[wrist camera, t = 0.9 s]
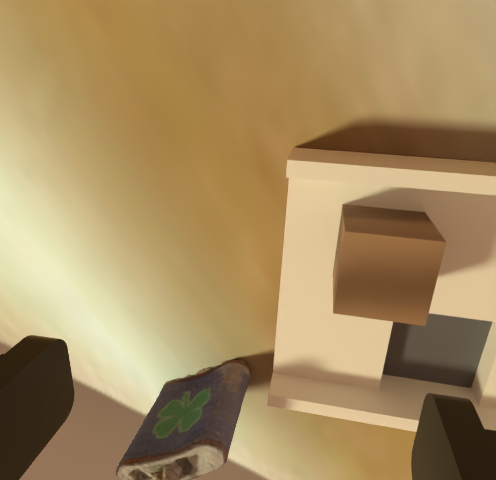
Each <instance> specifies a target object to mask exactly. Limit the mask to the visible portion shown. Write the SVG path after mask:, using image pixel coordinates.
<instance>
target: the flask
mask: <svg viewBox="0 0 496 480" xmlns="http://www.w3.org/2000/svg"><path fill="white" fill-rule="evenodd" d="M249 380H250V369H249V367H248V365H246V363H245V362H244V361H243V360H230V361H224V362H222V364H221V365H219V366H216V367H212V368H210V367H209V368H207V369H204V368H203V370H200V371H199V372H198V373H197V374H196V375H195V376H190V375H188V376H187V377H186V378H184V379H178V378H177V379H176V380H174V381H168V382H166V383H165V384H164V386H163V388H162V390H161V392H160V394H159V396H158V398H157V400H156V402H155V403H154V405H153V406H152V408H151V410H150V411H149V413H148V414H147V416H146V418H145V420H144V422H143V424H142V426H141V428H140V429H139V431H138V433H137V434H136V436H135V438H134V440H133V441H132V443H131V445H130V446H129V448H128V450H127V452H126V453H125V454H124V457H123V458H122V460H121V461H120V463H119V466H118V467H117V471H116V475H117V477H118V478H119V479H120V480H190V479H193V478H197V477H199V476H201V475H204V474H206V473H209V472H212V471H214V470H216V469H217V468H220V467H221V466H223V465H224V464H225V463H226V461H227V457H228V453H229V449H230V445H231V441H232V438H233V434H234V431H235V427H236V423H237V420H238V417H239V414H240V410H241V405H242V402H243V398H244V395H245V392H246V389H247V385H248V382H249Z"/></svg>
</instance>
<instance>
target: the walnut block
mask: <svg viewBox="0 0 496 480" xmlns="http://www.w3.org/2000/svg"><path fill="white" fill-rule="evenodd" d="M445 246H446V241H445V239H444V238H443V237H442V235H441V234H440V232H439V231H438V230H437V228H436V227H435V225H434V224H433V223H432V221H431V220H430V218H429V217H428V215H427V214H426V213H425V212H419V211H408V210H398V209H387V208H377V207H366V206H356V205H345V204H342V211H341V218H340V225H339V233H338V240H337V247H336V254H335V261H334V269H333V313H334V314H341V315H348V316H356V317H363V318H370V319H377V320H385V321H392V322H399V323H407V324H414V325H421V326H426V322H427V318H428V314H429V310H430V306H431V302H432V298H433V294H434V290H435V286H436V282H437V278H438V274H439V270H440V266H441V262H442V258H443V254H444V250H445Z"/></svg>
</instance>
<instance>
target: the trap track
mask: <svg viewBox="0 0 496 480" xmlns="http://www.w3.org/2000/svg"><path fill="white" fill-rule="evenodd" d="M286 177H289V186H288V198H287V210H286V222H285V234H284V246H283V258H282V270H281V282H280V294H279V305H278V317H277V329H276V341H275V353H274V365H273V374H272V379H271V384H270V389H269V394H268V406H273V407H279V408H284V409H290V410H296V411H301V412H307V413H313V414H318V415H324V416H330V417H335V418H341V419H346V420H352V421H358V422H363V423H369V424H375V425H380V426H386V427H392V428H397V429H403V430H409V431H414V432H417V428H418V423H419V419H420V415H421V410H422V406H423V402H424V399H425V396H426V395H427V394H428V393H433V394H440V395H447V396H454V397H461V398H467V399H469V400H470V401H471V402H472V403H473V405H474V407H475V409H476V412H477V414H478V416H479V418H480V420H481V422H482V425H483V427H484V429H488V430H495V431H496V163H495V162H482V161H469V160H455V159H442V158H429V157H415V156H402V155H389V154H375V153H362V152H349V151H335V150H322V149H309V148H295V147H294V148H293V150H292V152H291V154H290V156H289V158H288V160H287V171H286ZM342 204H345V205H356V206H366V207H377V208H387V209H398V210H408V211H419V212H425V213H426V214H427V215H428V217H429V218H430V220H431V221H432V223H433V224H434V225H435V227H436V228H437V230H438V231H439V232H440V234H441V235H442V237H443V238H444V239H445V241H446V246H445V250H444V254H443V258H442V262H441V266H440V270H439V274H438V278H437V282H436V286H435V290H434V294H433V298H432V302H431V306H430V310H429V314H428V318H427V322H426V326H421V325H414V324H407V323H399V322H392V321H385V320H377V319H370V318H363V317H356V316H348V315H341V314H334V313H333V269H334V261H335V254H336V247H337V240H338V233H339V225H340V218H341V211H342Z"/></svg>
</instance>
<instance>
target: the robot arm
mask: <svg viewBox="0 0 496 480" xmlns="http://www.w3.org/2000/svg"><path fill="white" fill-rule="evenodd" d="M73 401H74V387H73V380H72V374H71V367H70V361H69V354H68V348H67V345H66V343H65V341H63V340H61V339H56V338H48V337H41V336H34V335H30V336H27V337H25V338H24V339H22V340H21V341H20V342H19V343H18V344H16V345H15V346H14V347H13V348H11V349H10V350H9V351H8V352H7V353H5V354H2V355H0V480H19V479H20V478H21V476H22V475H23V474H24V473H25V471H26V470H27V469H28V468H29V466H30V465H31V464H32V462H33V461H34V460H35V458H36V457H37V456H38V455H39V454H40V452H41V451H42V450H43V448H44V447H45V446H46V445H47V443H48V442H49V441H50V439H51V438H52V437H53V436H54V434H55V433H56V432H57V431H58V429H59V428H60V427H61V426H62V424H63V423H64V422H65V420H66V419H67V417H68V416H69V413H70V411H71V409H72V405H73ZM411 468H412V479H413V480H496V431H495V430H488V429H484V427H483V425H482V422H481V420H480V418H479V416H478V414H477V412H476V409H475V407H474V405H473V403H472V402H471V401H470V400H469V399H467V398H461V397H454V396H447V395H440V394H433V393H428V394H427V395H426V396H425V399H424V402H423V406H422V410H421V415H420V419H419V423H418V428H417V432H416V436H415V440H414V445H413V449H412V460H411Z"/></svg>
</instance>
